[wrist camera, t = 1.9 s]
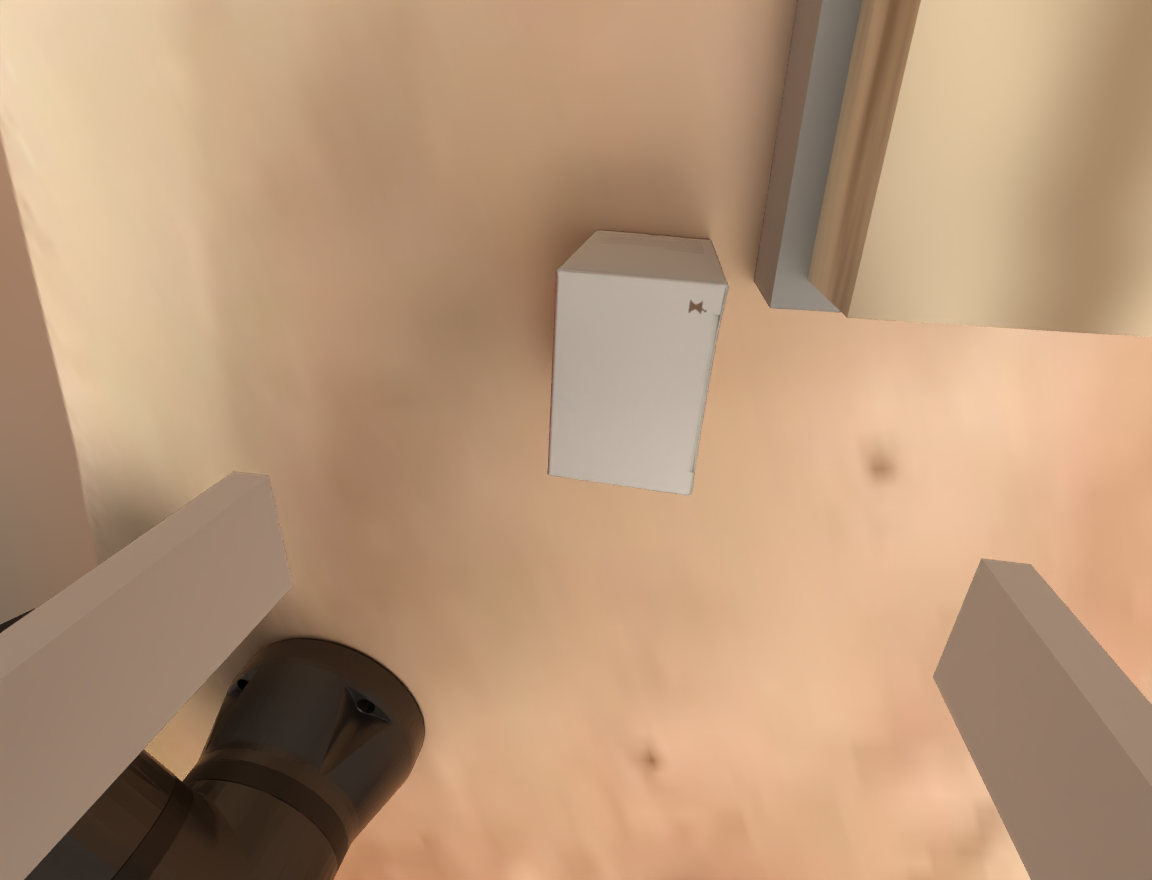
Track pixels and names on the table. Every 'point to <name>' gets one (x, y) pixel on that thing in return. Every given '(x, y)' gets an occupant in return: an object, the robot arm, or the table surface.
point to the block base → (804, 151)
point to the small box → (633, 359)
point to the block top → (994, 167)
